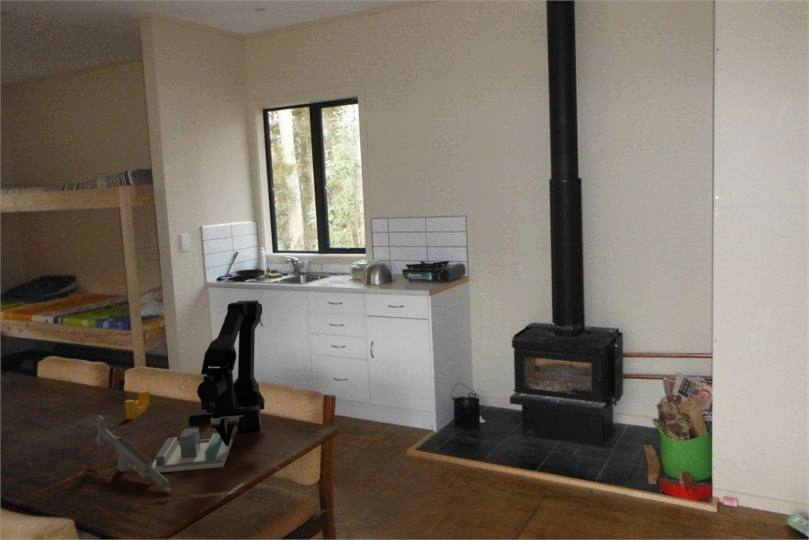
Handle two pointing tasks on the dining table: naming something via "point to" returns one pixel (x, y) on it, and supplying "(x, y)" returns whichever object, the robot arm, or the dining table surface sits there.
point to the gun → (130, 455)
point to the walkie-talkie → (207, 408)
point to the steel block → (190, 443)
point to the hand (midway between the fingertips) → (227, 445)
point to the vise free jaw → (213, 447)
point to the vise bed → (172, 459)
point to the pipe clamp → (137, 405)
